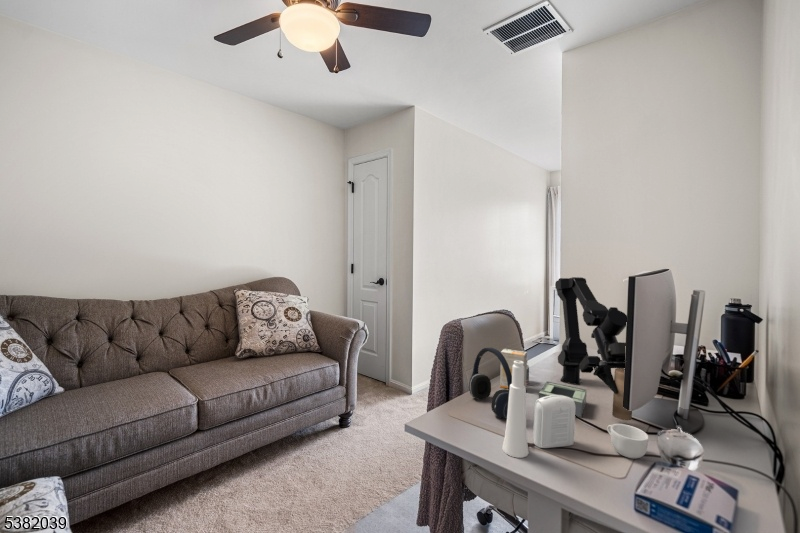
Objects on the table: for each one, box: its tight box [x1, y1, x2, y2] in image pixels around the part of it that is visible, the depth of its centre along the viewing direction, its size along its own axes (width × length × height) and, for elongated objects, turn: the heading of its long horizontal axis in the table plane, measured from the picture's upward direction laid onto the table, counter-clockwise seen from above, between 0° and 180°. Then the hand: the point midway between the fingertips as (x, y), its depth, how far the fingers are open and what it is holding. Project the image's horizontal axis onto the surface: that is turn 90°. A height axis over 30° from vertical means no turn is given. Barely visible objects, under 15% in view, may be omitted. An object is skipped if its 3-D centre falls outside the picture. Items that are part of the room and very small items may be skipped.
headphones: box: [468, 347, 512, 419], centre depth 109 cm, size 20×7×18 cm, turn 18°
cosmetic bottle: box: [501, 360, 529, 459], centre depth 85 cm, size 6×6×22 cm
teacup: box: [606, 423, 649, 460], centre depth 87 cm, size 10×8×5 cm
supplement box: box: [499, 348, 528, 390], centre depth 126 cm, size 8×5×13 cm, turn 58°
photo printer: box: [532, 395, 576, 449], centre depth 89 cm, size 10×4×12 cm, turn 103°
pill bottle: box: [526, 364, 530, 385], centre depth 131 cm, size 5×5×9 cm
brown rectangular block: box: [611, 368, 633, 422], centre depth 100 cm, size 5×5×13 cm
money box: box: [538, 381, 587, 419], centre depth 112 cm, size 12×12×4 cm
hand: (626, 393), depth 98 cm, fingers closed on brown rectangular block, 5 cm apart
